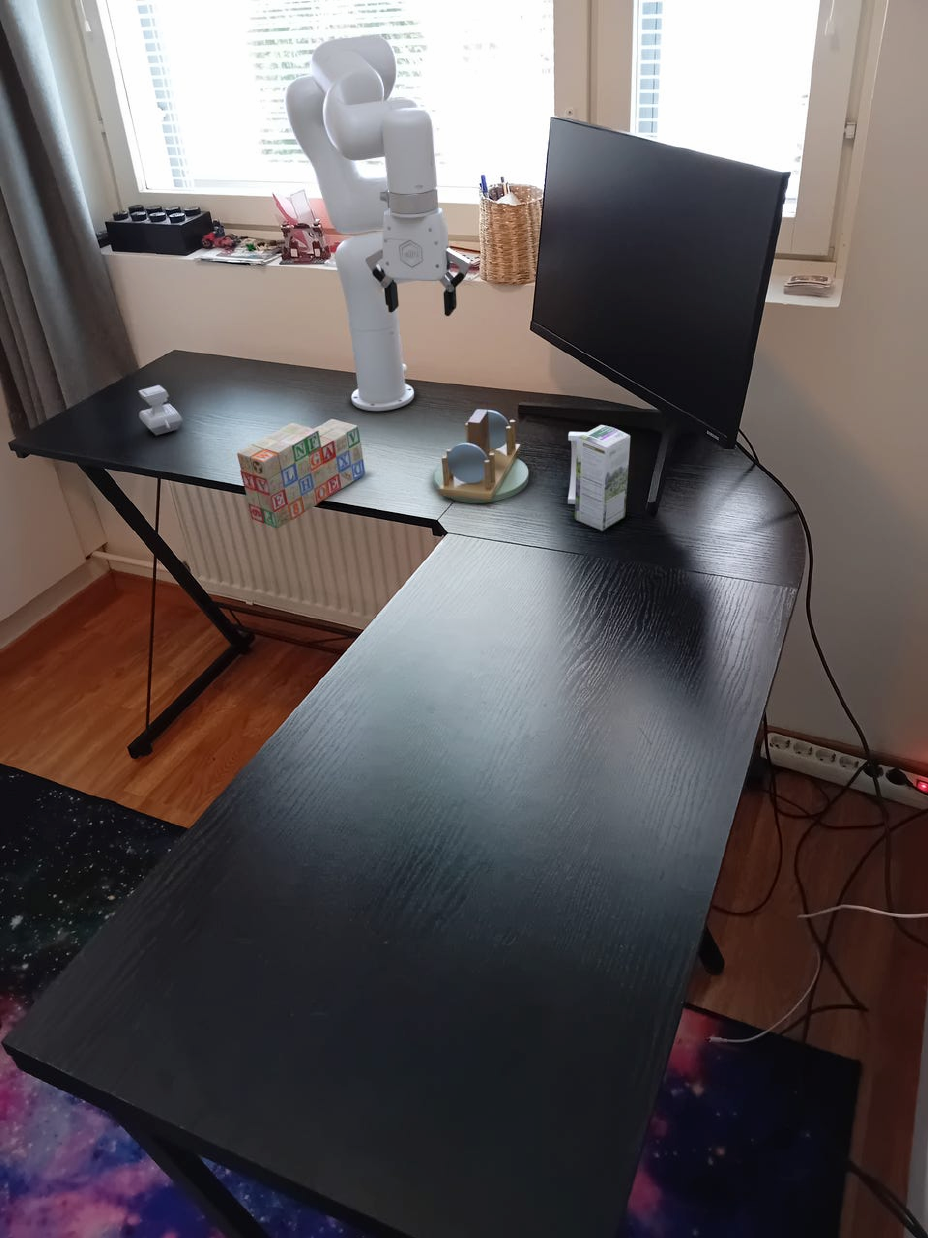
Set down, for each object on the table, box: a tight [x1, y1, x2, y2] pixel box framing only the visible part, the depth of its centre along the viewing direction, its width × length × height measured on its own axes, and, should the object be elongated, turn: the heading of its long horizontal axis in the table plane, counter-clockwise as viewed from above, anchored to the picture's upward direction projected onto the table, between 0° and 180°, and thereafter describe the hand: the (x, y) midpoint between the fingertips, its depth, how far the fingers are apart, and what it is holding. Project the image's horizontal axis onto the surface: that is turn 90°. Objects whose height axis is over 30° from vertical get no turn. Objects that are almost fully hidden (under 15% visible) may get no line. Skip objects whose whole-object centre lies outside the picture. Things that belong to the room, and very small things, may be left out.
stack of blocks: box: [236, 418, 366, 529], centre depth 155 cm, size 21×6×12 cm, turn 143°
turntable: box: [433, 457, 530, 504], centre depth 160 cm, size 16×16×1 cm
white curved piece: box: [567, 431, 588, 505], centre depth 150 cm, size 5×6×12 cm
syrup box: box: [574, 424, 631, 532], centre depth 143 cm, size 6×6×14 cm
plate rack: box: [437, 408, 522, 500], centre depth 156 cm, size 18×9×10 cm, turn 162°
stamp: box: [138, 384, 183, 436], centre depth 182 cm, size 9×7×8 cm
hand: (421, 311), depth 154 cm, fingers open, 9 cm apart
